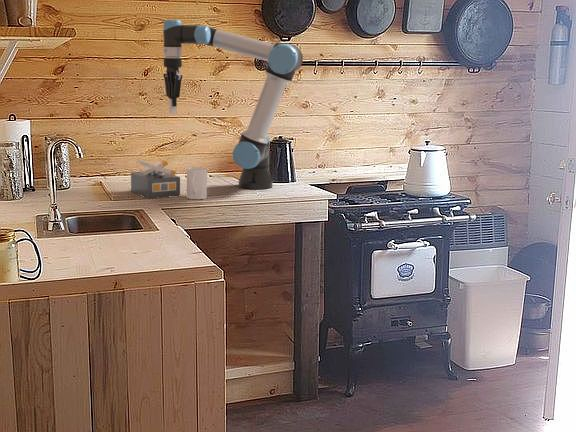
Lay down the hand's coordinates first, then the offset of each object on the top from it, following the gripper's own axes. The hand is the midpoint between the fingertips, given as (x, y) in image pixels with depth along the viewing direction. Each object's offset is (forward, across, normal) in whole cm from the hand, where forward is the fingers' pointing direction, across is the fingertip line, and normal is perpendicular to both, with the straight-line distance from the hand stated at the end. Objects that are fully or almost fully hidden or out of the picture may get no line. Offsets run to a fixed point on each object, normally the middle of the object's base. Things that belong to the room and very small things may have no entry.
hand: (173, 113), depth 326 cm
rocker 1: (+22, +5, -14) cm, 26 cm away
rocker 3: (+22, +17, -14) cm, 31 cm away
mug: (+32, +27, -4) cm, 42 cm away
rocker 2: (+22, +11, -14) cm, 28 cm away
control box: (+32, +11, -14) cm, 36 cm away
